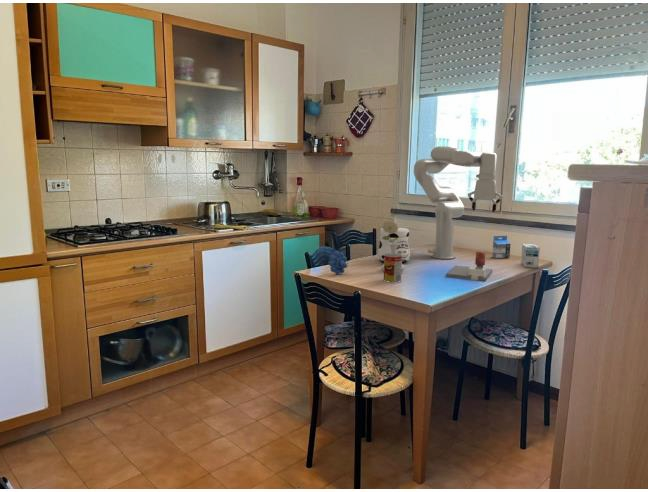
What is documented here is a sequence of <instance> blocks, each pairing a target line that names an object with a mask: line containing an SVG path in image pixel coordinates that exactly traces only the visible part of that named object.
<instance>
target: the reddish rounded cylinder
mask: <svg viewBox="0 0 648 492" xmlns="http://www.w3.org/2000/svg"><path fill="white" fill-rule="evenodd" d="M474 260H475V261H474V265H476V267H479V268H484V266H485V265H486V252H485V251H479V250H478V251H475V259H474Z"/></svg>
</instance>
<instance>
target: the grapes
mask: <svg viewBox="0 0 648 492" xmlns="http://www.w3.org/2000/svg"><path fill="white" fill-rule="evenodd" d="M328 265H329V266H330V269H329V270H330V271H331V272H332V273H334V274H335V273H336V274H335V275H337V274H339V275H340V274H344V273H345V269H346V268H348V264H347V257H346V256H345V255H344V252H343V251H338V250H334V251H333V253H331V254H330V255H329V260H328Z"/></svg>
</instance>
